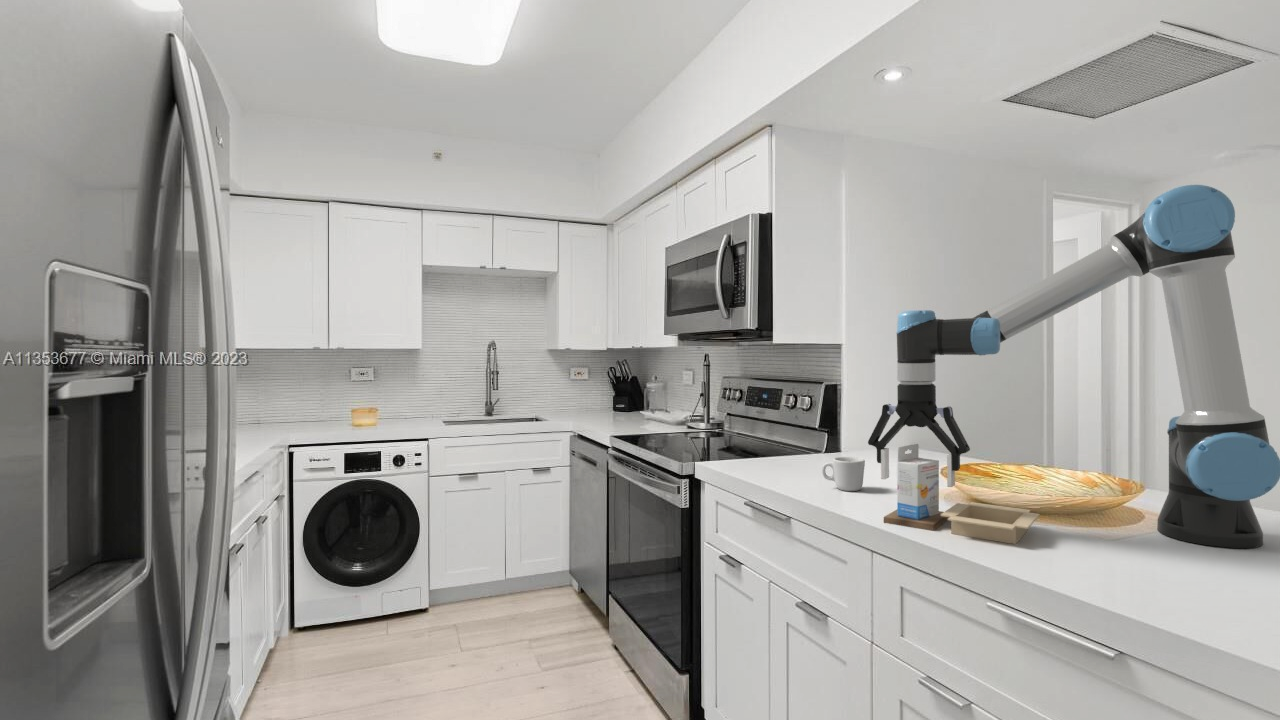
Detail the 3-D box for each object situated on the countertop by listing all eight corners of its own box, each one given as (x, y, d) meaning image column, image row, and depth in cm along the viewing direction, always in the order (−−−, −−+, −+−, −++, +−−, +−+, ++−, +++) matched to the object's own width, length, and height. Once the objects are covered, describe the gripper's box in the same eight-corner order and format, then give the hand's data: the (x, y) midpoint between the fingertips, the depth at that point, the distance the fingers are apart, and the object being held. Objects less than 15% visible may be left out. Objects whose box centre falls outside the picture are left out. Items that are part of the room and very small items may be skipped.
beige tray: (1041, 528, 130) (1041, 511, 130) (1025, 549, 117) (1025, 530, 117) (960, 516, 140) (960, 500, 140) (936, 534, 127) (936, 517, 127)
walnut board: (950, 518, 139) (950, 512, 139) (933, 530, 130) (933, 524, 130) (903, 511, 146) (903, 505, 146) (883, 522, 137) (883, 516, 137)
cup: (820, 490, 168) (820, 460, 168) (823, 484, 175) (823, 455, 175) (864, 493, 164) (864, 462, 164) (865, 487, 171) (865, 457, 171)
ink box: (918, 520, 133) (918, 449, 133) (896, 516, 137) (896, 447, 137) (940, 514, 138) (939, 445, 138) (918, 509, 142) (917, 443, 142)
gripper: (985, 383, 132) (985, 486, 133) (865, 381, 148) (866, 472, 149) (975, 385, 126) (976, 492, 127) (852, 382, 143) (853, 477, 143)
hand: (917, 482), depth 138 cm, fingers open, 13 cm apart
